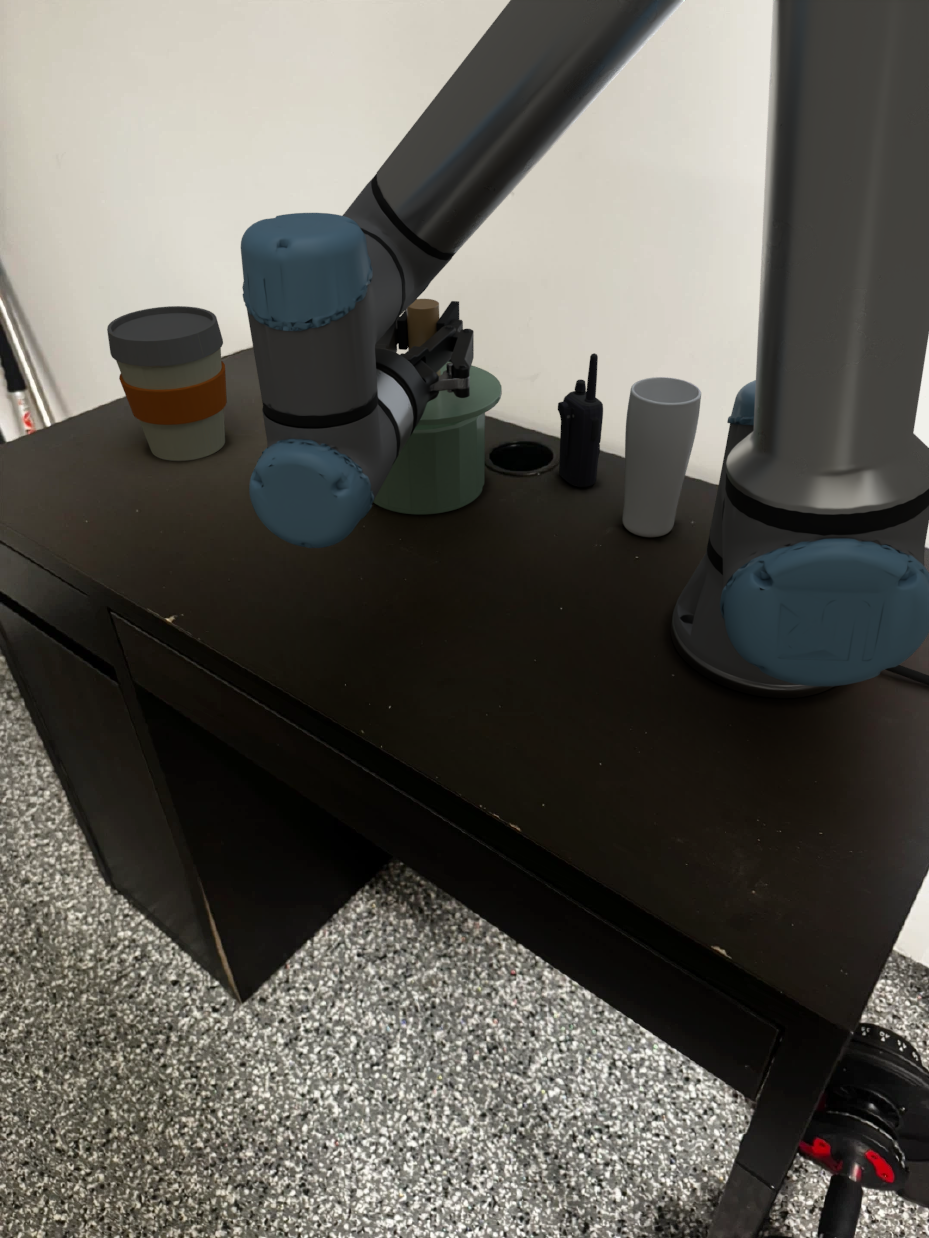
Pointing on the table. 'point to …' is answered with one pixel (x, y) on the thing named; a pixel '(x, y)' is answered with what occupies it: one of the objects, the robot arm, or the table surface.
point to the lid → (446, 404)
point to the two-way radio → (581, 431)
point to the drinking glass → (657, 452)
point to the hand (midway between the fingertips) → (436, 314)
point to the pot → (437, 469)
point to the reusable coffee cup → (173, 378)
